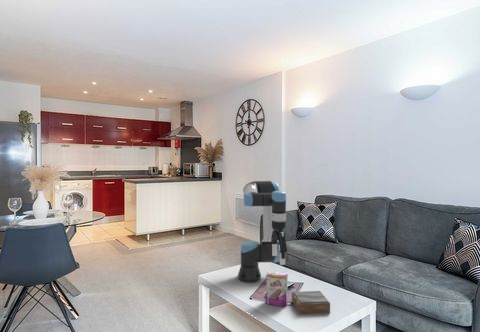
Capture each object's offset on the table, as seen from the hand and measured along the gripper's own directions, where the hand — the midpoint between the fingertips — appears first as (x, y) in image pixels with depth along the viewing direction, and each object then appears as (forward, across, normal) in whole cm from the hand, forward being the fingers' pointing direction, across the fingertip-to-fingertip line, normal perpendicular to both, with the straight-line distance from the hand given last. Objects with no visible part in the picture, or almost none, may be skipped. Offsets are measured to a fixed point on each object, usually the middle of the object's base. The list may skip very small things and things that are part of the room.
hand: (278, 259), depth 160 cm
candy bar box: (+24, -1, -1) cm, 25 cm away
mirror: (+24, +6, +16) cm, 30 cm away
